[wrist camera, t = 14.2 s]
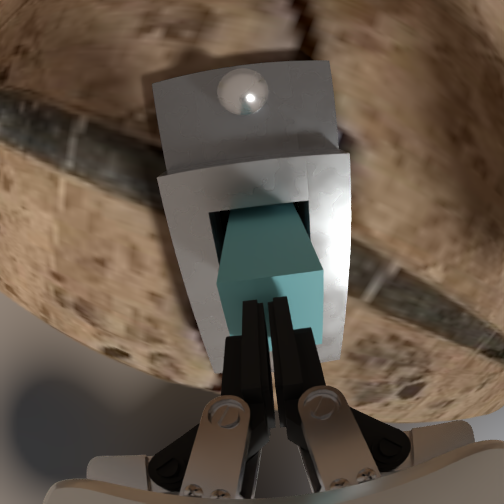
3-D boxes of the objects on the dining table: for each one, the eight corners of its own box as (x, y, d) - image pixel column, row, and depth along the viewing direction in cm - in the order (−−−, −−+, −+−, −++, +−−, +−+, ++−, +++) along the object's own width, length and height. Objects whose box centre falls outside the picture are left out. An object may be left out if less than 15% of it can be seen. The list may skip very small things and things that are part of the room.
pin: (288, 195, 19) (323, 269, 10) (293, 246, 21) (322, 343, 12) (231, 202, 19) (216, 283, 10) (240, 252, 21) (234, 354, 12)
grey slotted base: (321, 66, 15) (345, 50, 10) (329, 328, 25) (342, 368, 20) (161, 86, 15) (132, 78, 11) (218, 340, 25) (213, 382, 21)
